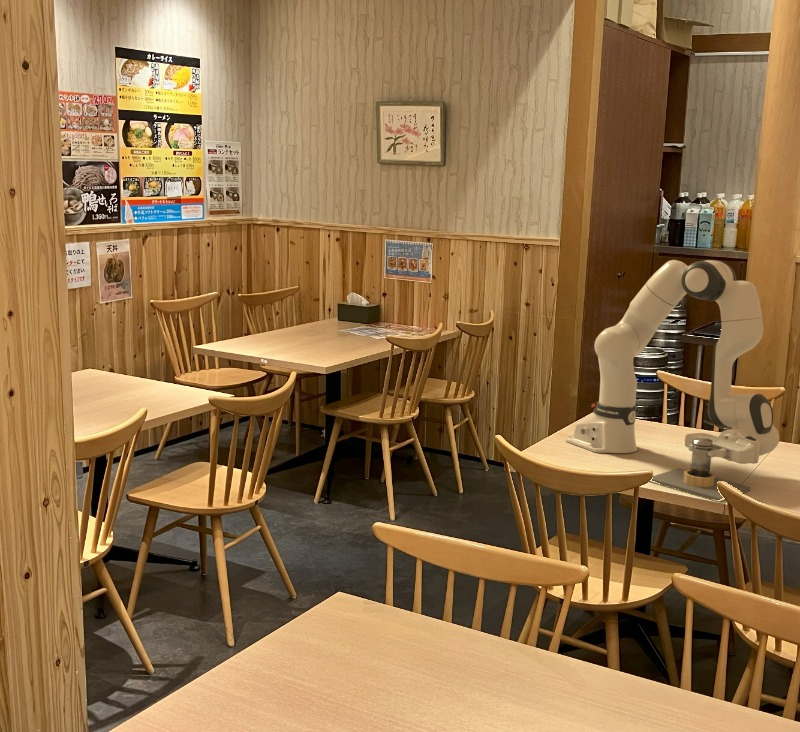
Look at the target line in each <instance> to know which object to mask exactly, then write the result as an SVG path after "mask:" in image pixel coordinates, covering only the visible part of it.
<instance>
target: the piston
mask: <svg viewBox="0 0 800 732" xmlns="http://www.w3.org/2000/svg"><path fill="white" fill-rule="evenodd" d="M712 443H713V441H712V440H710V439H706V438H695V439H693V451H691V452H692V454H691V463H690V464H691V467H690V470H691V475H692V476H696V477H710V472H711V464H712V457H709V456H707V454H708V453H707V451H708V450H711V449H712Z"/></svg>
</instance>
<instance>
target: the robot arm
mask: <svg viewBox="0 0 800 732" xmlns="http://www.w3.org/2000/svg"><path fill="white" fill-rule="evenodd" d="M736 275H737V274H736V273H735V270H734V269H733V267H732V266H731V265H730V264H728V263H727V262H725V261H722V260H715V259H706V260H699V261H695V262H692V263H690V264H689V265H687V264H686V263H685V262H683V261H680V260H677V259H671V260H668V261H666V262H665V263H664V264H663V265H662V266H661V267H660V268H659V269H657V270H656V271H655V272H654V273H653V274H652V275H651V276H650V278H649V279H648V280H647V281H646V282H645V284H644V285H643V286H642V287H641V289H640V290H639V291H638V292H637V294H636V295H635V296H634V297H633V299H632V300H631V301H630V302H629V307H628V308H627V310H626V312H625V313H624V315H623V317H622V319H620V320H619V322H618V323H617V324H615V325H614V326H613V325H612V326H610V327H607V328H604V329H603V330H602V331H601V332H600V333H599V334H598V336H597V337H596V338H595V341H594V346H593V347H594V351H595V355H596V356H597V358H598V365H599V373H600V375H599V376H600V382H599V397H598V399H599V400H598V401H596V402H594V403H591V406H590V407H591V408H594V409H593V412H592V413H590V414H588V415H587V416H585V417H584V418H582V419H580V420H578V422H577V423H576V424H575V427H574V430H573V434H570V435H568V436H567V437H566V439H565V442H566V443H568V444H569V443H570V444H573V445H575V446H578V447H580V448H583V449H586V450H589V451H591V452H595V453H598V454H601V453H604V454H605V453H606V454H607V453H608V454H630V453H635V452H636V451H637V450H638V447H637V443H636V435H635V433H636V432H635V423H636V422H635V421H636V417H637V405H636V399H637V387H638V379H637V377H636V373H635V367H634V358H635V357H637V356H638V355H640V354H642V352H643V351H644V350H645V348H646V347H647V346H648V344H649V343H650V341H651V340H652V338H653V337H654V335H655V333H656V332H657V330H658V329H659V327H661V326H660V325H662V323H663V322H664V321H665V319H667V317H668V316H669V315H670V313H671V312H672V311H673V310H674V309H675V307H676V306H677V305H678V304H679V303H680V301H682V299H683V298H684V297H685V296H686V295H687V294H688V295H689V296H691V297H693V298H695V299H697V300H698V299H699V300H704V301H709V302H715V303H717V305H718V306H719V307H718V308H719V311H720V321H721V331H720V335H719V338H718V340H717V341H716V343H715V344H714V345H713V350H712V351H713V352H712V362H711V364H712V365H711V381H710V382H711V383H710V397H709V401H708V405H707V415H708V418H709V419H710V422H712V424H713V425H714V427H717V428H718V429H722V430H723V429H724V430H723V431H721V433H720V434H718V435H719V436H717V435H714V434H710V433H707V432H695V433H694V432H693V433H687V434H685V436H684V446H685V447H686V448H688V451H690V452H692V451H693V439H695V438H706V439H710V440H712V441H713V443H712V449H711V450H708V451H707V453H708V454H707V456H709V457H711V458H721V459H724V460H726V461H729V462H734V463H737V464H741V465H747V464H753V465H754V464H758V463H759V459H760V457H761V456H764V455H767V454H769V453H771V452H773V451H774V450H775V449H776V448H777V447H778V445H779V442H780V433H779V430H778V428H776V427H775V426H774V423H773V422H774V411H773V407H772V405H771V403H770V401H769V400H768V398H767V397H766V396H764V395H763V394H761V393H742V394H741V393H735V394H734V393H733V392H732V376H733V366H734V362H735V361H736V360H737V358H739V357H741V356H742V355H743V354H745V353H747V352H749V351H751V350H752V349H754V348H755V347H756V346H758V344H759V343H760V341H761V340H762V338H763V336H764V335H763V333H764V324H763V323H764V322H763V321H764V320H763V314H762V313H763V311H762V306H761V301H760V297H759V294H758V291H757V288H756V286H755V285H754V284H753V283H752V282H750V281H746V280H737V276H736ZM725 429H726V430H725Z"/></svg>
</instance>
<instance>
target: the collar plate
mask: <svg viewBox="0 0 800 732" xmlns="http://www.w3.org/2000/svg"><path fill="white" fill-rule="evenodd" d="M652 476H653V479H652V481H655V482H657V483H660V484H662V485H666V486H669V487H673V488H676V489H679V490H681V491H680V492H683V491H685V492H684V493H686V492H688V493H687V494H689V493H691V494H690V495H693V494H695V495H694V496H696V495H698V496H697V497H700V496H702V497H701V498H703V497H705V498H704V499H707V498H709V499H708V500H710V499H715V500H720V499H722V498H723V497H722V496H721V495H720V493H719V492H718V489H717V482H718V481H725V482H727V483H728V484H730V485H732V486H733V487H735V488H737V489H738V490H740V491H741V492H743V493H742V494H745V493H748V492H750V491H751V487H750V486H747V485H744V484H741V483H736V482H733V481H728V480H725V479H722V478H718V477H715V473H713V472H711V471H710V477H696V476H692V475H691V469H684V468H680V467H677V468H675V469H671V470H668V471H665V472H662V473H659V474H655V475H652ZM662 485H661V486H662ZM669 487H668V488H669ZM676 489H675V490H676ZM679 490H678V491H679Z"/></svg>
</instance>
